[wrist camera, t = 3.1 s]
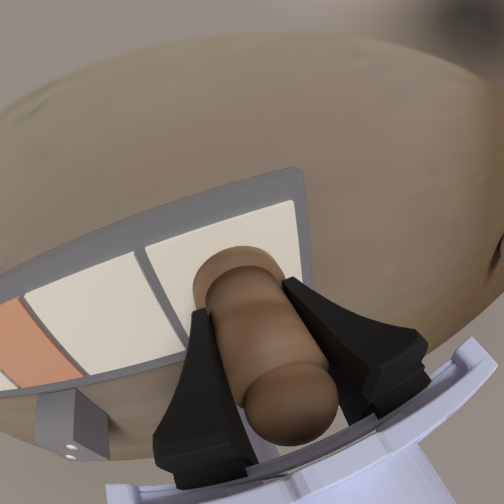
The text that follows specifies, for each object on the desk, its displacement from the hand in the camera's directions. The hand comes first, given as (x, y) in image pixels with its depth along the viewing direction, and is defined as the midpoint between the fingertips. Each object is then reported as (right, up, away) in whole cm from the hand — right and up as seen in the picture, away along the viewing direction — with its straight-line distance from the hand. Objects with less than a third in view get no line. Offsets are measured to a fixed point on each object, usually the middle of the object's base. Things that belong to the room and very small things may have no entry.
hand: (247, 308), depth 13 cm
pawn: (-1, +1, +2) cm, 2 cm away
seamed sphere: (+39, +5, +15) cm, 42 cm away
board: (-12, -2, +1) cm, 12 cm away
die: (-16, -11, +5) cm, 20 cm away
